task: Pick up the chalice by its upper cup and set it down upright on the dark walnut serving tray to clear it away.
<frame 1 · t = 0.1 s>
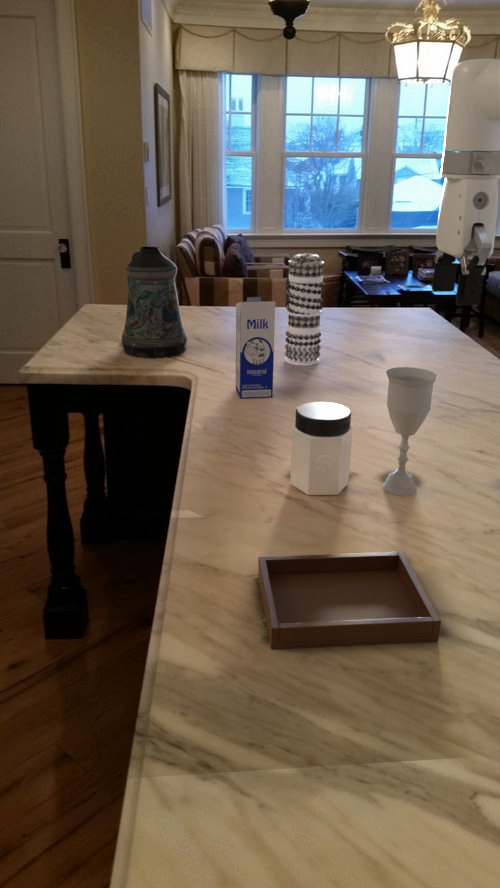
hand: (454, 297, 99), 28 cm above the kitchen island, tool pointing down, fingers open, 9 cm apart
jar: (319, 485, 108), on the kitchen island
tray: (341, 606, 79), on the kitchen island
beer stein: (150, 349, 179), on the kitchen island
chalice: (399, 489, 107), on the kitchen island
decorative candle: (302, 361, 171), on the kitchen island
milk carton: (253, 394, 148), on the kitchen island
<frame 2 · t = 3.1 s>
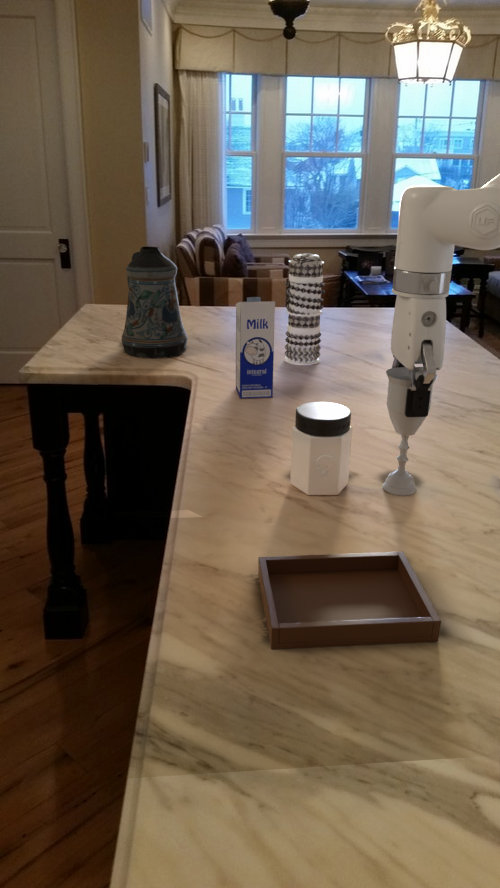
hand: (408, 406, 102), 13 cm above the kitchen island, tool pointing down, fingers closed on chalice, 7 cm apart
chalice: (399, 489, 107), on the kitchen island, touching gripper
everything else where it was.
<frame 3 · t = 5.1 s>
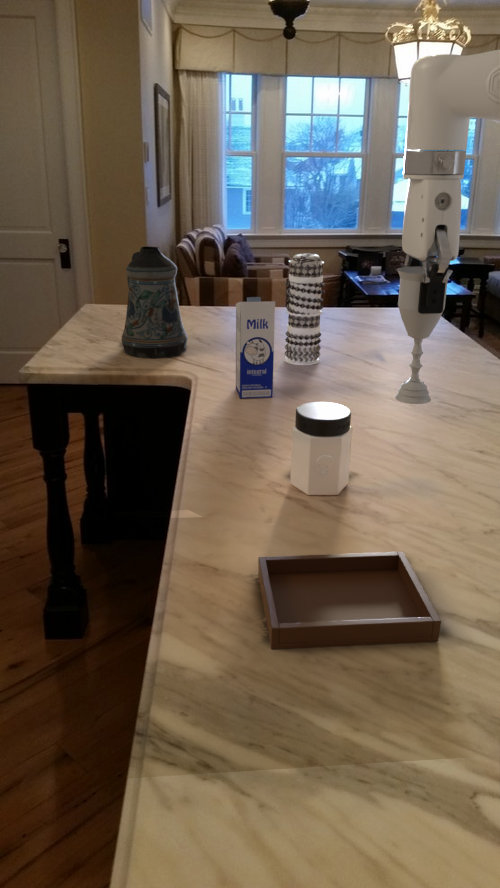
hand: (421, 306, 96), 28 cm above the kitchen island, tool pointing down, fingers closed on chalice, 7 cm apart
chalice: (412, 399, 101), point 14 cm above the kitchen island, touching gripper
everything else where it was.
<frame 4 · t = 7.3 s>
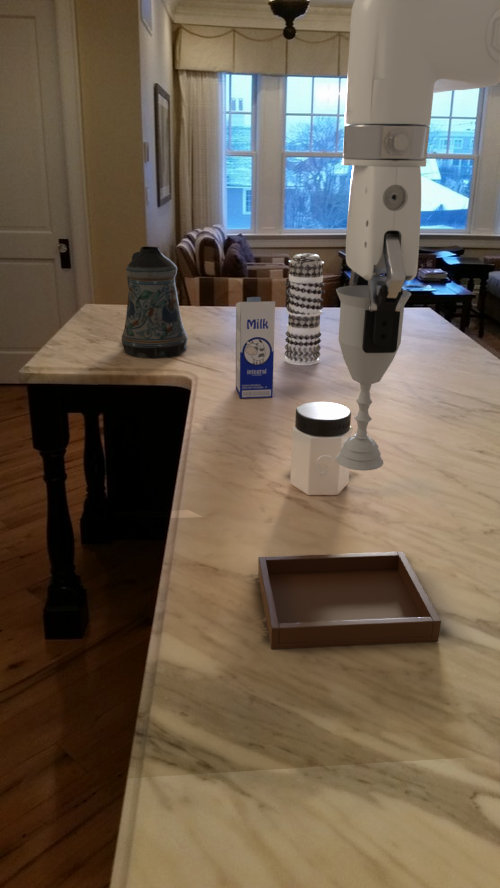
hand: (369, 340, 70), 30 cm above the kitchen island, tool pointing down, fingers closed on chalice, 6 cm apart
chalice: (359, 462, 75), point 16 cm above the kitchen island, touching gripper
everything else where it was.
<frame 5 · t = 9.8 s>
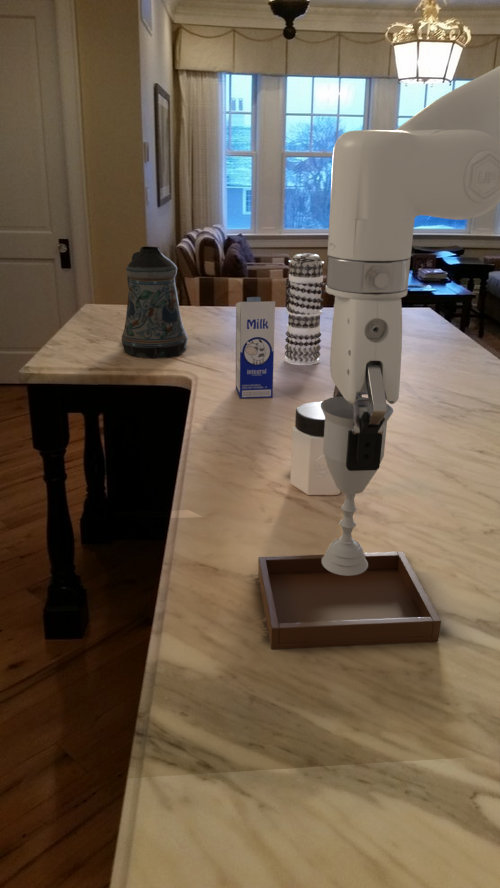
hand: (353, 452, 72), 19 cm above the kitchen island, tool pointing down, fingers closed on chalice, 6 cm apart
chalice: (344, 564, 77), point 5 cm above the kitchen island, touching gripper
everything else where it was.
when the fingers open (14 cm above the kitchen island, at t = 11.6 s): chalice stays where it is, resting on tray.
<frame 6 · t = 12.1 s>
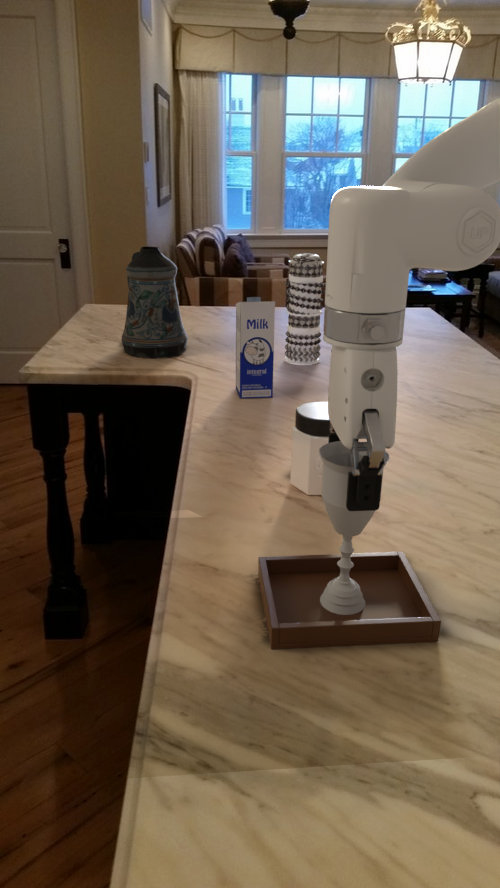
hand: (351, 487, 73), 15 cm above the kitchen island, tool pointing down, fingers open, 9 cm apart
chalice: (342, 602, 79), resting on tray
everything else where it was.
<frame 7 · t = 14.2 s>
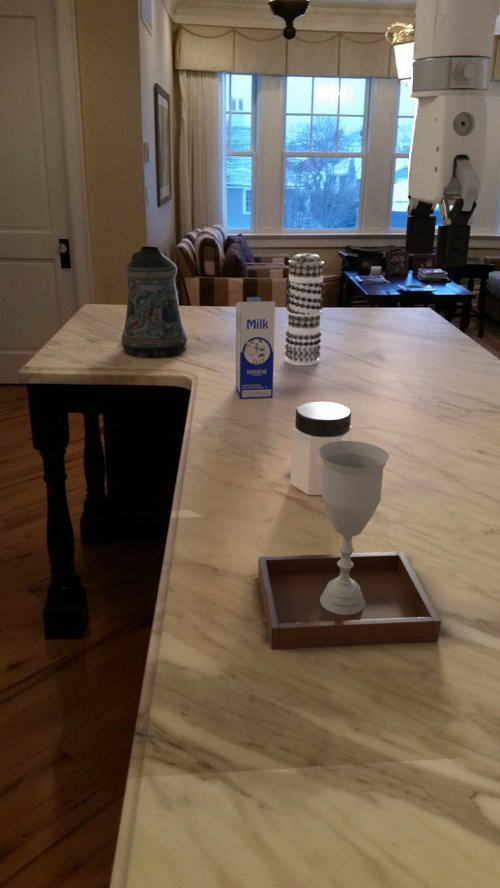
hand: (433, 259, 76), 36 cm above the kitchen island, tool pointing down, fingers open, 9 cm apart
nothing on the kitchen island moved.
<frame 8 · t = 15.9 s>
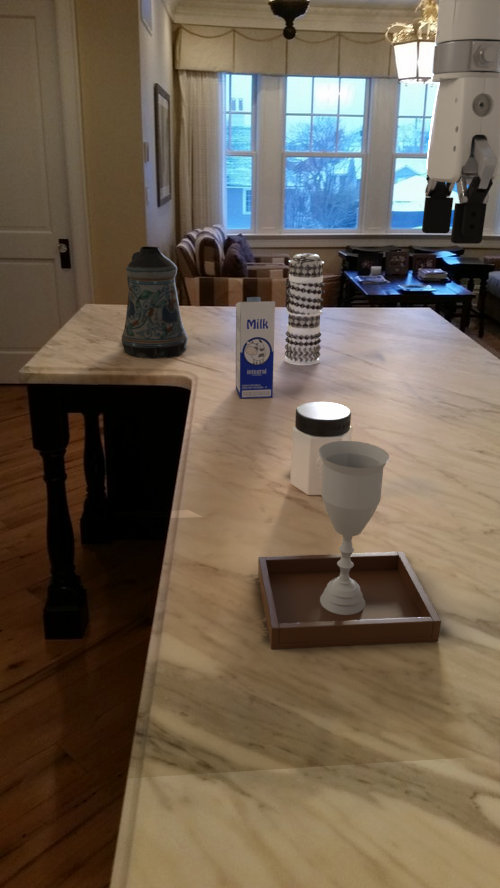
hand: (449, 237, 79), 38 cm above the kitchen island, tool pointing down, fingers open, 9 cm apart
nothing on the kitchen island moved.
at the end: chalice inside the target area in the tray (0.1 cm from its centre), point 0.4 cm above the tray's base; chalice tilted 0°; the gripper is holding nothing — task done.
